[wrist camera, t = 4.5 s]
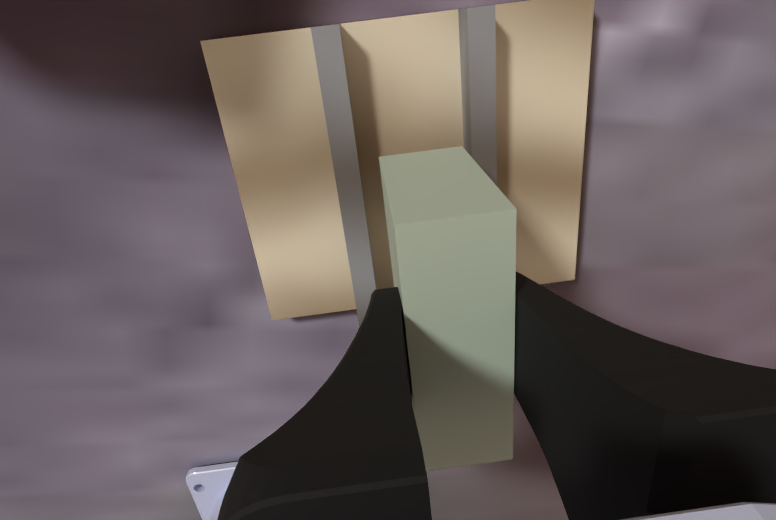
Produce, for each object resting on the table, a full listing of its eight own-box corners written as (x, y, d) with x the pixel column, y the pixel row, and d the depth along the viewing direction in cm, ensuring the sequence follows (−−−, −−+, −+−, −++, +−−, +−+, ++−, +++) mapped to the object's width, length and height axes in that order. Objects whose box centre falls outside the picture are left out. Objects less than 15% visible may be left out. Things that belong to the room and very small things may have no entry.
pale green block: (469, 342, 17) (512, 459, 13) (401, 352, 17) (421, 472, 13) (461, 146, 14) (516, 208, 9) (378, 156, 14) (393, 225, 9)
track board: (564, 268, 20) (588, 294, 18) (275, 306, 20) (267, 338, 18) (580, -6, 16) (614, -10, 14) (208, 39, 15) (188, 42, 13)
